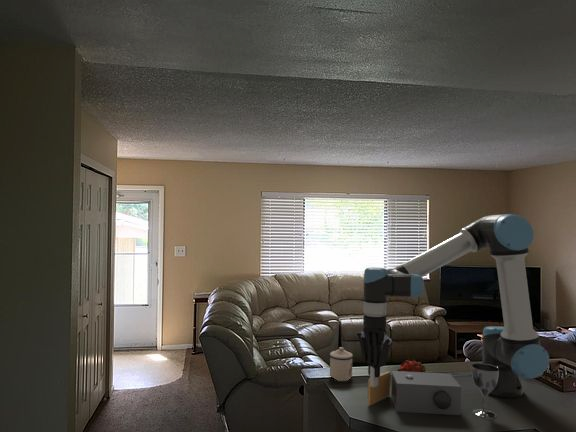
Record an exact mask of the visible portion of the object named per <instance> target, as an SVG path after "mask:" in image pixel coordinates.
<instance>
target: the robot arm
mask: <svg viewBox="0 0 576 432" xmlns="http://www.w3.org/2000/svg"><path fill="white" fill-rule="evenodd" d="M533 240H534V229H533V226H532V224H531V223H530V221H528V220H527V219H526V218H525V217H523V216H521V215H518V214H513V213H505V214H504V213H503V214H489V215H485V216H483V217H481V218H479V219H477V220H475V221H473V222H471V223H470V224H468V225H466V226H464V227H463V228H461V229H459V232H458V234H455V235H454V236H452V237H450V238H448V239H446V240H444V241H443V242H441V243H439V244H437V245H435V246H433V247H431V248H430V249H427V250H426V251H424V252H422V253H420V254H418V255H416V256H415V257H412V258H410V259H409V260H407V261H405V262H403V263H401V264H400V265H398V266H395V267H394V268H388V269H387V268H385V267H376V266H375V267H374V266H371V267H366V268H365V269H364V274H363V312H362V313H364V314H363V315H362V317H363V322H362V323H363V329H362V331H359V332H357V333H356V336H357V337H358V339H359V345H360V352H361V357H362V361H363V363H366V364H367V366H368V368H367V370H368V371H367V372H368V375H369V379H370V387H376V386H378V377H380V375H381V367H385V366H386V365H387V360H388V356H389V351H390V347H391V345H392V343H393V341H394V339H393V338H391V337H389V336H388V334H387V330H386V328H387V316H386V315H387V303H388V300H387V297H390V298H392V297H395V298H396V297H397V298H401V297H402V298H417V297H418V298H420V297H421V296H423V294H424V290H425V283H424V279H423V277H425V276H427V275H429V274H431V273H433V272H434V271H436V270H438V269H440V268H442V267H444V266H446V265H448V264H450V263H451V262H454V261H455V260H457V259H459V258H461V257H463V256H464V255H467V254H469V253H470V252H472V253H476V252H478V251H481V250H483V249H487V248H489V254H490V256H491V257H492V258H493V259H494V260H495V262H496V271H497V278H498V279H497V280H498V286H499V288H498V289H499V294H500V295H499V296H500V304H501V309H502V310H501V311H502V318H503V326H499V325H498V326H496V325H495V326H492V325H491V326H490V325H489V326H485V327H484V328H483V330H482V336H481V337H482V363H485V364H490V365H494V366H496V367H498V368H499V378H498V383H497V386H496V387H495V389H493V390H492V391H491V392H490V393H489V394H488V395H491V396H495V397H500V398H507V399H511V398H515V399H516V398H520V397H522V396H523V393H524V387H523V383H522V381H521V379H520V377H523V378H525V379H535V378H538V377H540V376H542V375H543V374H544V372H545V371H547V370H548V367H549V365H550V355H549V353H548V351H547V350H546V349H545V348H544V346H543V345H542V346H541V340H540V334H539V333H538V332H537V331H536V330H535V329H534V326H533V317H532V310H531V301H530V293H529V286H528V278H527V270H526V269H527V268H526V263H525V262H526V261H525V258H526V257H527V256H528V254H529V252H530V251H529V246H531V243H532V242H533Z"/></svg>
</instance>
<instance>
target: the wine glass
mask: <svg viewBox="0 0 576 432" xmlns="http://www.w3.org/2000/svg"><path fill="white" fill-rule="evenodd" d="M471 378H472V382H473V383H474V385H475V387H476V388H477V389H478V391H479V392H480V394H481V395H482V405H483V406H482V408H476V409H473V410H472V414H473V415H474V416H476V417H478V418H480V419H487V420H493V419H492V418H495V417H496V416H497V414H496V413H495V412H493V411H490V410H487V399H488V396H489V395H490V394H489V393H490V392H491V391H492V390H493V389H495V387H496V386H497V383H498V378H499V368H498V367H496V366H494V365H490V364H485V363H483V362H477V363H476V362H475V363H473V364H471ZM497 417H498V416H497ZM497 417H496V418H497ZM496 418H495V419H496Z"/></svg>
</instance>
